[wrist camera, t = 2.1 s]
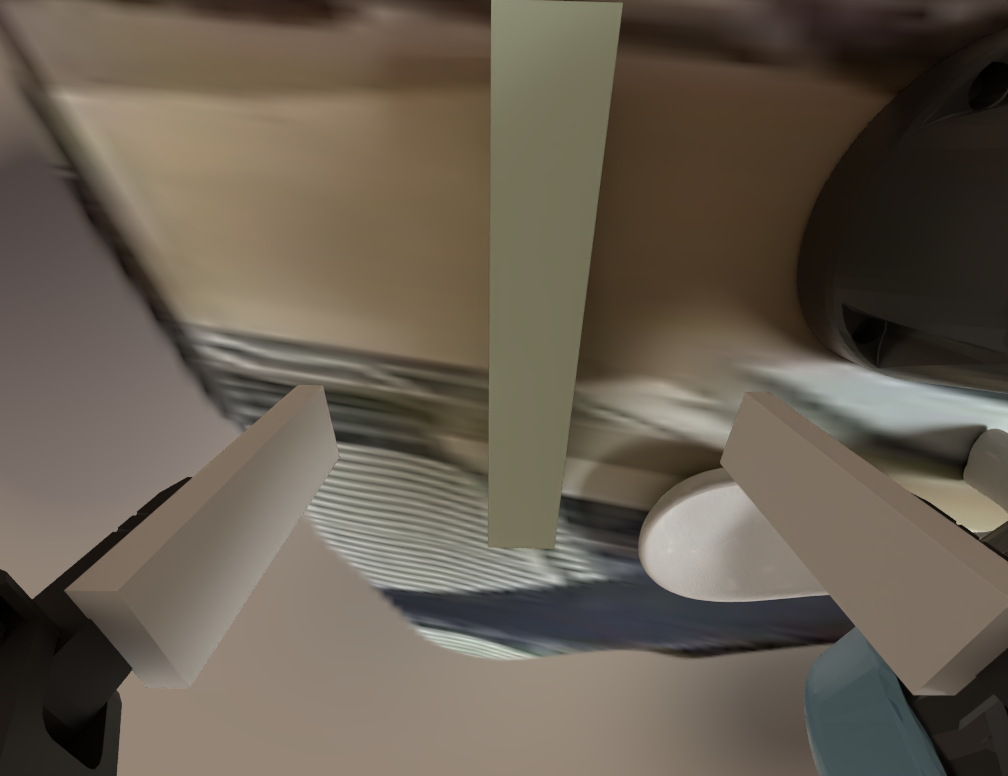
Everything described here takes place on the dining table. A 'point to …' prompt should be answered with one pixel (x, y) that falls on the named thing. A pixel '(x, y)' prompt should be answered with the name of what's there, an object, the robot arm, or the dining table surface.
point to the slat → (541, 244)
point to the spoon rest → (757, 534)
